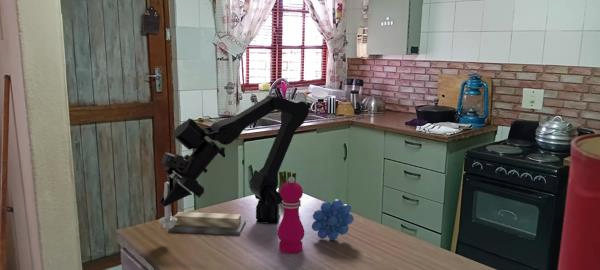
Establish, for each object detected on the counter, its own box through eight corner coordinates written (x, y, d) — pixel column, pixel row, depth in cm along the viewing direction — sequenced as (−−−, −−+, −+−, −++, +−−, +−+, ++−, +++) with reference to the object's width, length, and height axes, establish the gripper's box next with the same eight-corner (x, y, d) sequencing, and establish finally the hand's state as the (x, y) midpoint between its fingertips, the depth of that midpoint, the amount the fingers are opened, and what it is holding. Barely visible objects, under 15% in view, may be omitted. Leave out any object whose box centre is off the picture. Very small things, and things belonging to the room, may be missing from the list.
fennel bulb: (297, 204, 159) (297, 171, 156) (288, 208, 155) (288, 174, 153) (284, 201, 162) (284, 168, 160) (275, 204, 158) (275, 170, 156)
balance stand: (245, 223, 141) (245, 211, 141) (239, 234, 132) (239, 222, 132) (178, 220, 143) (178, 208, 142) (168, 231, 134) (168, 219, 133)
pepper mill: (301, 255, 120) (302, 181, 116) (274, 253, 121) (274, 179, 117) (306, 244, 127) (307, 174, 123) (280, 241, 128) (281, 172, 124)
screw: (162, 223, 129) (179, 224, 129) (156, 230, 124) (174, 230, 124) (160, 178, 127) (177, 179, 127) (154, 183, 122) (173, 184, 122)
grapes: (352, 234, 134) (353, 195, 132) (353, 244, 127) (354, 203, 125) (312, 232, 135) (313, 193, 132) (310, 242, 128) (311, 201, 126)
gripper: (168, 136, 132) (131, 178, 128) (190, 148, 117) (148, 197, 113) (196, 159, 138) (161, 200, 134) (220, 173, 122) (181, 221, 119)
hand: (162, 204), depth 125 cm, fingers closed on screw, 2 cm apart
